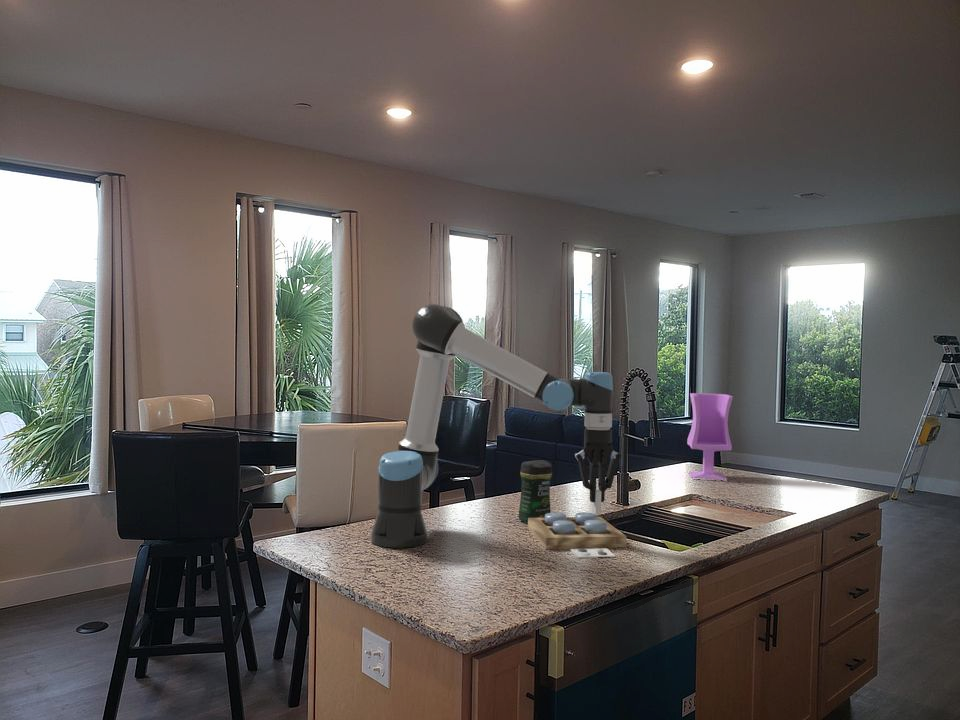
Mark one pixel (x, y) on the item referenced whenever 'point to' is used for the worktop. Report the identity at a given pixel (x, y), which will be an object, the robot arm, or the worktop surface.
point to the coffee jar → (535, 489)
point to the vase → (709, 430)
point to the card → (592, 553)
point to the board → (575, 536)
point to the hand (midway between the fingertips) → (596, 513)
